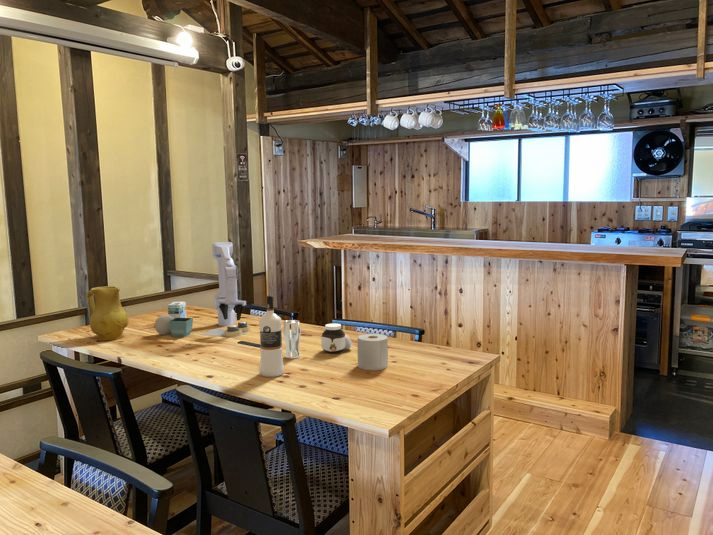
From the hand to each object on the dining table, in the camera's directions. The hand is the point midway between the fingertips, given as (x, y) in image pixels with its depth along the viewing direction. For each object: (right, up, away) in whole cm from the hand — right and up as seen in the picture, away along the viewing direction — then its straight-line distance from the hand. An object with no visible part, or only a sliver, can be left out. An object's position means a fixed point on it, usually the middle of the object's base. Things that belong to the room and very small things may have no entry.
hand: (232, 319), depth 276 cm
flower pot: (-24, -9, 0) cm, 26 cm away
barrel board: (-4, -8, +6) cm, 10 cm away
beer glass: (+33, -13, -35) cm, 50 cm away
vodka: (+28, -16, -58) cm, 66 cm away
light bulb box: (-37, -5, +34) cm, 50 cm away
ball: (-34, -8, +6) cm, 35 cm away
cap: (0, -7, +1) cm, 7 cm away
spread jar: (+51, -11, -26) cm, 59 cm away
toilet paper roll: (+66, -14, -49) cm, 84 cm away
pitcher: (-60, -9, +3) cm, 61 cm away
